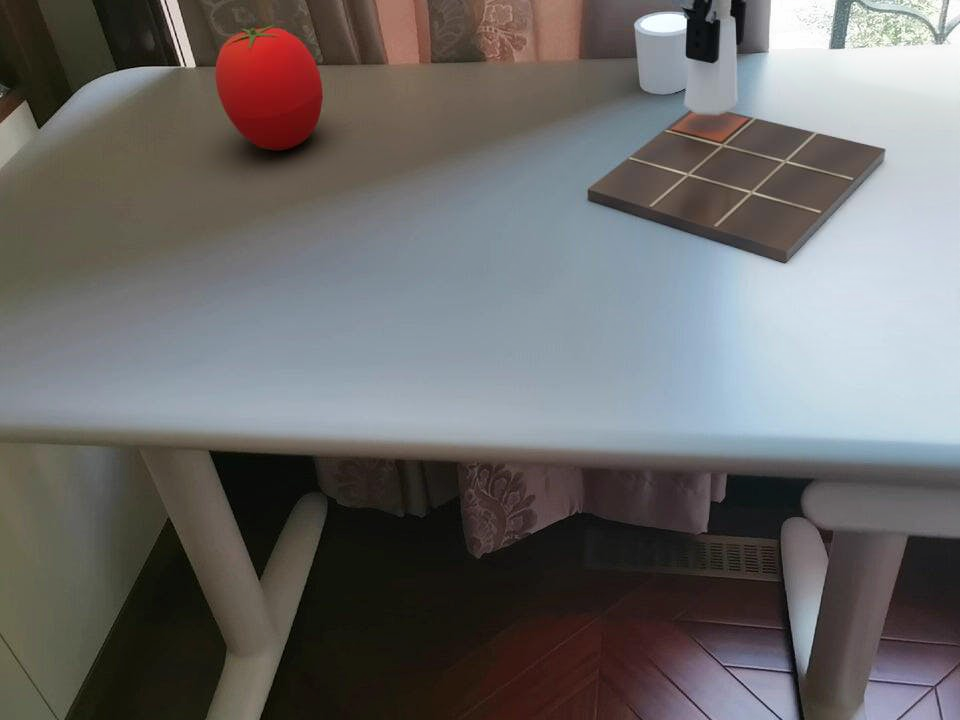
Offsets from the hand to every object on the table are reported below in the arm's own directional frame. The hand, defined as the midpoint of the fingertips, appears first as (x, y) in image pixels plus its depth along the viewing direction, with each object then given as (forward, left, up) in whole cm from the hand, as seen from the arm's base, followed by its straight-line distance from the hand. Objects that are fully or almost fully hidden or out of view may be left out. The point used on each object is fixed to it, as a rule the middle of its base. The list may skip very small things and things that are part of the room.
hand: (714, 48), depth 92 cm
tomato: (+39, +23, -9) cm, 47 cm away
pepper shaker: (0, 0, -6) cm, 6 cm away
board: (-7, +6, -9) cm, 13 cm away
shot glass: (+10, -9, -9) cm, 16 cm away
